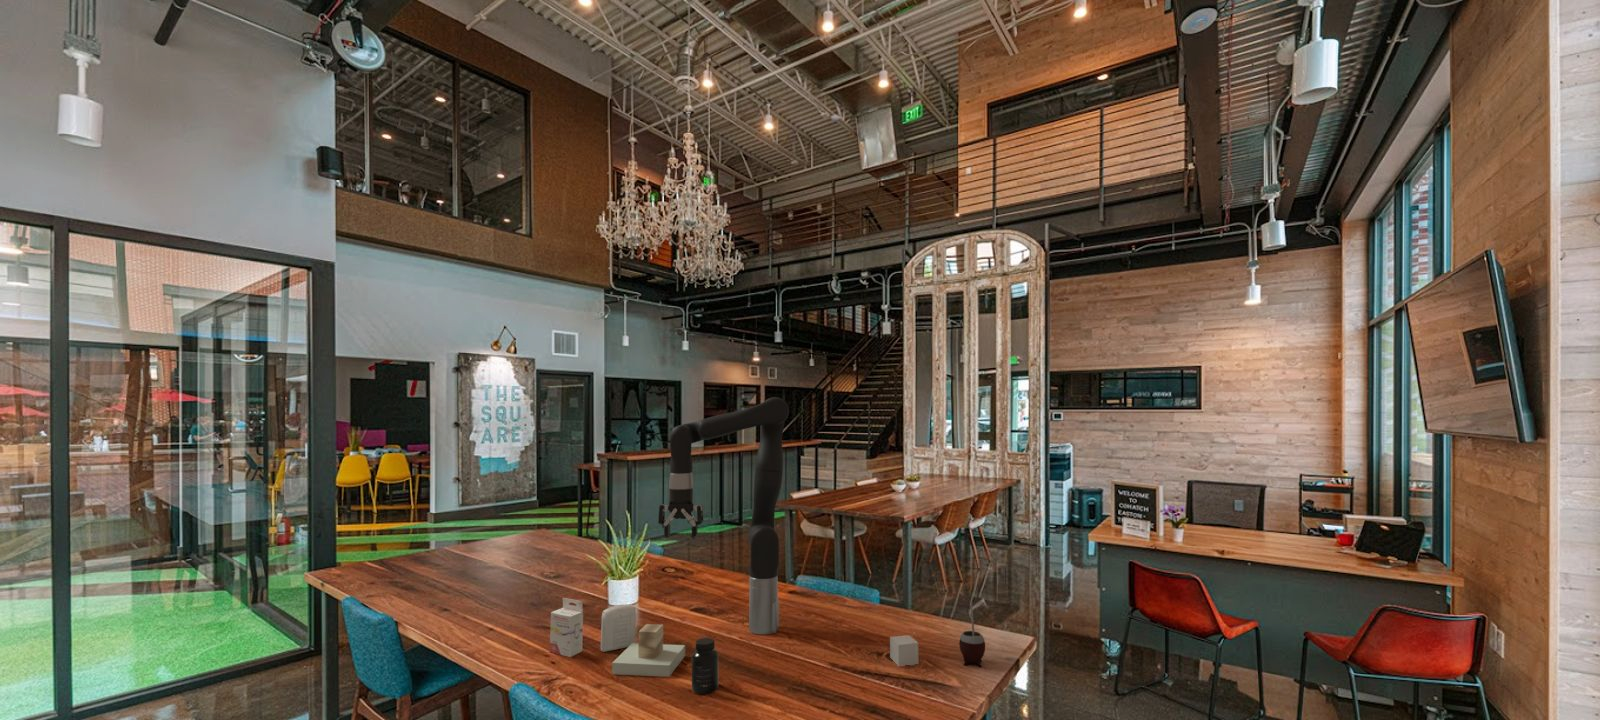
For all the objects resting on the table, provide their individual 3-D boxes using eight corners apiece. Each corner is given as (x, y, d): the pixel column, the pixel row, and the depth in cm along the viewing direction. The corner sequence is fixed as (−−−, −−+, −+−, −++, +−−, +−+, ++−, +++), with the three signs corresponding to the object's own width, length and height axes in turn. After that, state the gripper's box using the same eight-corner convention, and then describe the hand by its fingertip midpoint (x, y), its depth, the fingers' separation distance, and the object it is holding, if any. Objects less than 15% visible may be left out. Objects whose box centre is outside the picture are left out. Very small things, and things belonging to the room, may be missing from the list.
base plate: (685, 655, 180) (685, 645, 180) (669, 676, 166) (669, 665, 166) (632, 653, 181) (632, 643, 182) (612, 674, 168) (612, 662, 168)
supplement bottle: (692, 683, 162) (693, 636, 163) (719, 682, 162) (719, 635, 163) (690, 695, 155) (690, 646, 156) (717, 694, 155) (717, 645, 156)
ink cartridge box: (548, 652, 182) (549, 601, 184) (561, 646, 187) (562, 597, 188) (570, 657, 179) (571, 605, 180) (583, 651, 183) (584, 600, 184)
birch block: (663, 649, 176) (663, 624, 177) (655, 658, 171) (655, 632, 171) (646, 649, 177) (646, 624, 178) (638, 657, 171) (638, 631, 172)
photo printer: (632, 641, 191) (633, 600, 192) (637, 646, 187) (637, 604, 188) (598, 649, 185) (599, 606, 186) (602, 653, 182) (603, 610, 182)
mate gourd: (972, 670, 169) (970, 614, 170) (952, 660, 176) (951, 606, 177) (992, 665, 172) (990, 609, 173) (972, 655, 179) (970, 602, 180)
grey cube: (909, 656, 179) (909, 635, 179) (918, 664, 173) (918, 642, 173) (890, 658, 177) (889, 637, 178) (898, 667, 171) (898, 644, 172)
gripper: (705, 485, 203) (705, 535, 202) (663, 485, 205) (663, 534, 204) (699, 488, 196) (698, 540, 195) (655, 488, 198) (655, 539, 197)
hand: (680, 537), depth 199 cm, fingers open, 8 cm apart
